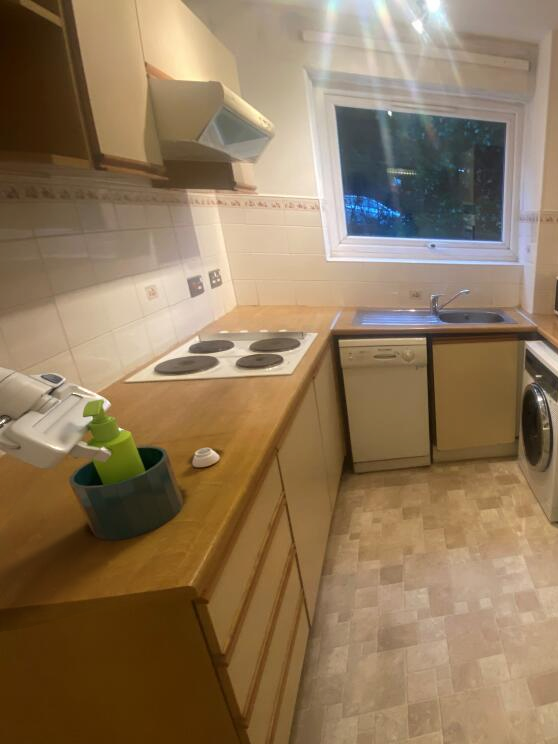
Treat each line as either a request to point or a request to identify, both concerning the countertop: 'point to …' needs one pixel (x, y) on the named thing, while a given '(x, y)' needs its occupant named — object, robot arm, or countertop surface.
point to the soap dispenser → (112, 446)
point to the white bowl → (205, 457)
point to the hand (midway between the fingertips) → (117, 446)
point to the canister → (129, 497)
